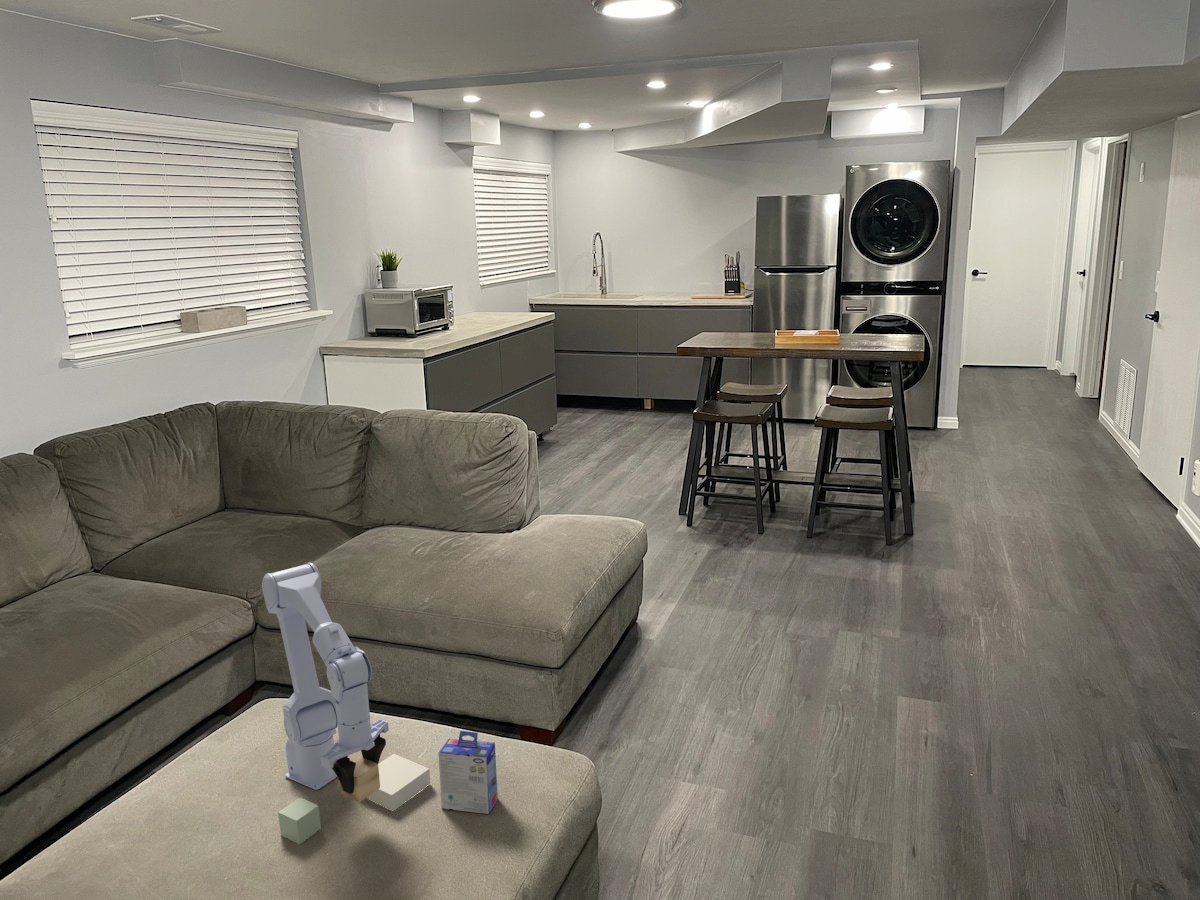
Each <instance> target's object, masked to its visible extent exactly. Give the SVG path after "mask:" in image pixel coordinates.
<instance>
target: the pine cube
mask: <svg viewBox="0 0 1200 900" xmlns="http://www.w3.org/2000/svg"><path fill="white" fill-rule="evenodd" d="M351 761H353V762H355V763H356V766H355V770H354V791H353V793H351V794H350V793H347V792H345V791H343V789H342V786H341V783H340V782H339V788H340V795H342V796H346V797H347V798H350V799H352V800H355V801H357V802H358V803H361V802H363V801H364V800H366V799H365V798H367V797H368V796H369V795H371V794H372V793H374V792H375V791H376V790H378V789H379V788H380V779H379V768H378V764H379V763H378V764H377V763H375V762H372V761H370V760H367V759H365V758H363V756H360V755H358V756H357V757H355V758H354V759H352V760H351Z"/></svg>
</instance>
